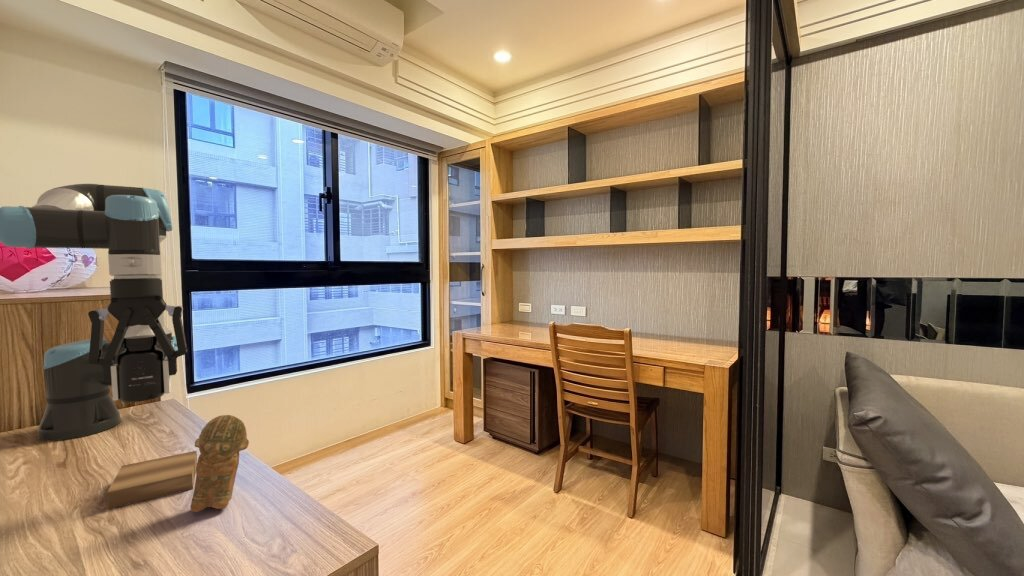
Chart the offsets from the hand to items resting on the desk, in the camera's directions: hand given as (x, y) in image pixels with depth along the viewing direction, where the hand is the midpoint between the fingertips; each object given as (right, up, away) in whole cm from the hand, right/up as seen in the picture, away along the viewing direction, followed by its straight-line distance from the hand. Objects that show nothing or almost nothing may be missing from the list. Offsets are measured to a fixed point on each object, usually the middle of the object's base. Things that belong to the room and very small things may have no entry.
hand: (143, 395), depth 82 cm
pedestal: (+2, -18, +1) cm, 18 cm away
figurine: (+19, -18, -5) cm, 27 cm away
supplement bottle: (0, -1, 0) cm, 1 cm away
